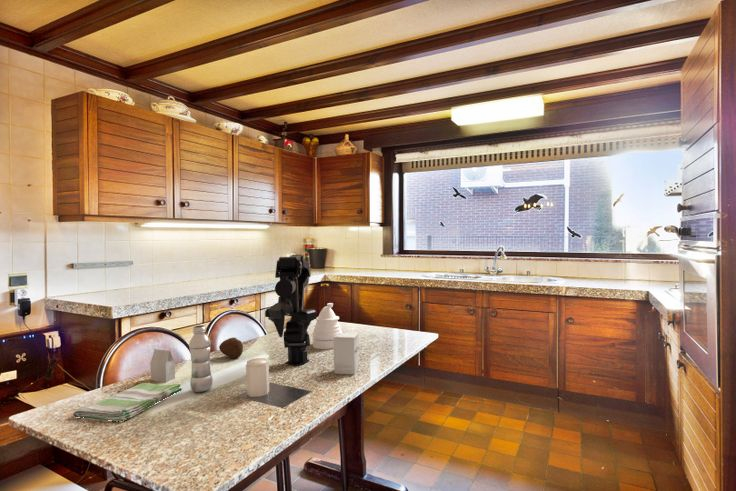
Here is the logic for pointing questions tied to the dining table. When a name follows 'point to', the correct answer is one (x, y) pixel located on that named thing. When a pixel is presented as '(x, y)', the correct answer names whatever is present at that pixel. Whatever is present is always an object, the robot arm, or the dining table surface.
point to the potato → (231, 347)
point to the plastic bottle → (200, 360)
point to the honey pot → (326, 328)
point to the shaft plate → (278, 395)
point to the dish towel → (127, 402)
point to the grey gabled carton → (162, 366)
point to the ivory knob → (257, 377)
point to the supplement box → (346, 353)
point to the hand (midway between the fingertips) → (291, 338)
